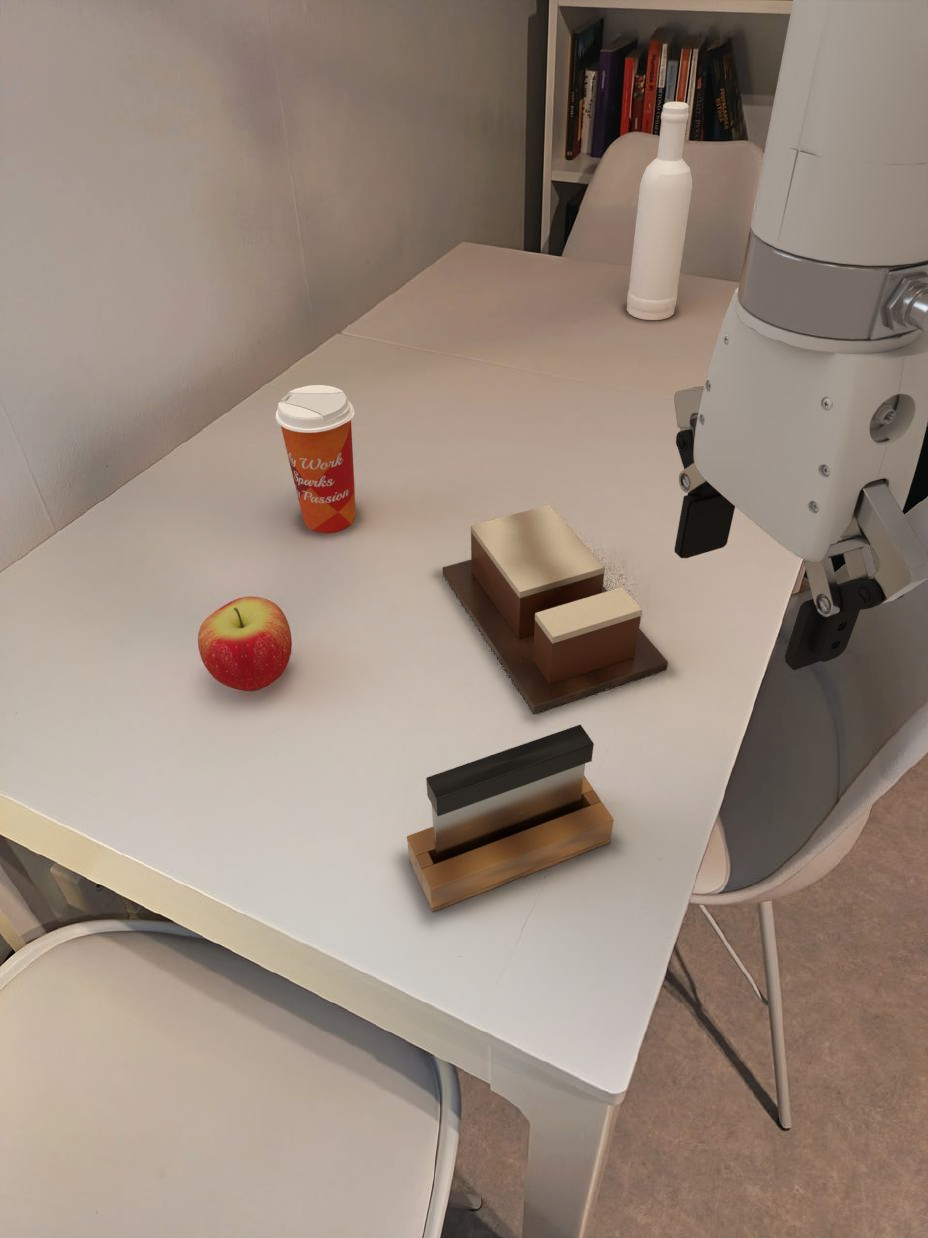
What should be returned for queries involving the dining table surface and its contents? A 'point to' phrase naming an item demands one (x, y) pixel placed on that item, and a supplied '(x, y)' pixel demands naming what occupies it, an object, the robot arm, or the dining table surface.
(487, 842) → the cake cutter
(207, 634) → the apple
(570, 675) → the cake slice
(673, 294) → the bottle
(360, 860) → the dining table surface
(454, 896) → the knife block
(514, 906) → the dining table surface
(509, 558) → the cake
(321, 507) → the coffee cup
